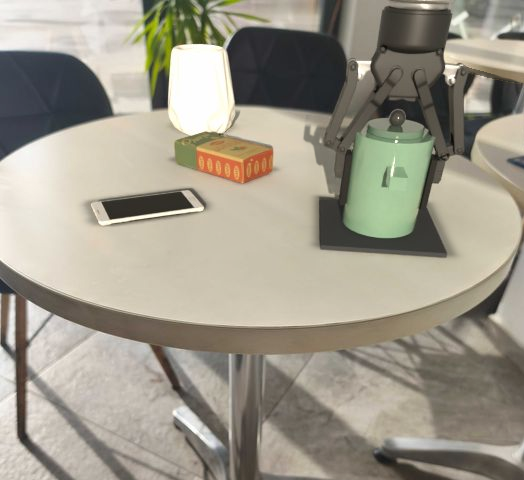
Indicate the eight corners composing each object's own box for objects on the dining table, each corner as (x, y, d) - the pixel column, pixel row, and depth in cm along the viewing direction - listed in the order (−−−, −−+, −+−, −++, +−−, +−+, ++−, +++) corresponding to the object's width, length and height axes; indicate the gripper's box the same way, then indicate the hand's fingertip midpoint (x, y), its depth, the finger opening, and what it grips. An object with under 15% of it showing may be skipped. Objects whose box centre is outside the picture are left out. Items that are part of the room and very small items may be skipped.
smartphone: (205, 207, 71) (99, 222, 66) (205, 211, 72) (99, 226, 67) (189, 189, 77) (90, 202, 72) (189, 193, 77) (90, 206, 72)
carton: (242, 185, 81) (242, 158, 78) (174, 163, 88) (171, 138, 86) (273, 172, 86) (274, 147, 83) (206, 153, 94) (205, 129, 91)
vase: (182, 118, 113) (176, 40, 103) (242, 123, 111) (242, 45, 101) (159, 135, 102) (151, 50, 92) (226, 141, 100) (224, 54, 90)
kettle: (424, 253, 62) (456, 130, 53) (344, 248, 62) (362, 125, 53) (405, 201, 76) (427, 96, 67) (339, 197, 76) (353, 92, 67)
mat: (424, 208, 75) (425, 204, 75) (446, 257, 63) (447, 253, 62) (319, 202, 76) (320, 198, 76) (320, 249, 64) (320, 245, 63)
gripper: (513, 7, 56) (459, 198, 70) (313, -2, 57) (299, 188, 71) (536, 12, 50) (472, 220, 64) (313, 3, 51) (297, 209, 65)
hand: (381, 203), depth 67 cm, fingers closed on kettle, 10 cm apart
